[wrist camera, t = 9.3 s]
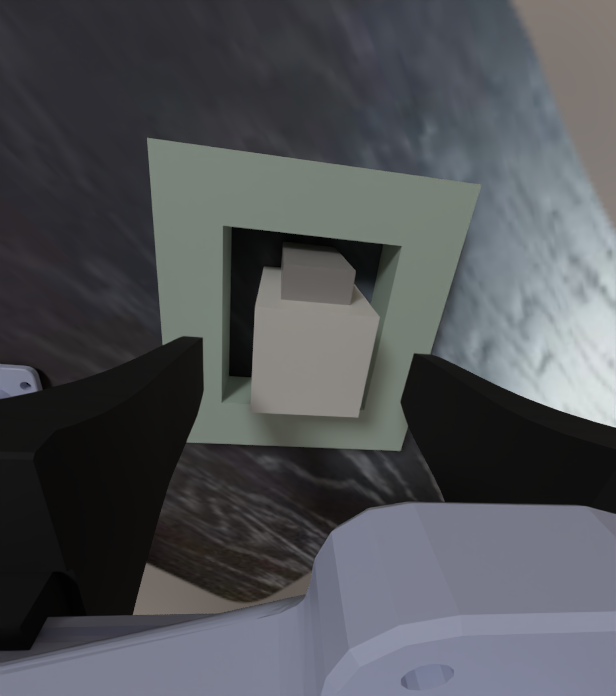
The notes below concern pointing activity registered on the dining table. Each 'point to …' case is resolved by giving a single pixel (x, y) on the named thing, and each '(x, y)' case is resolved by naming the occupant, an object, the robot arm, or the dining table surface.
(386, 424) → the socket board
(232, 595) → the dining table surface
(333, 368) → the plug
